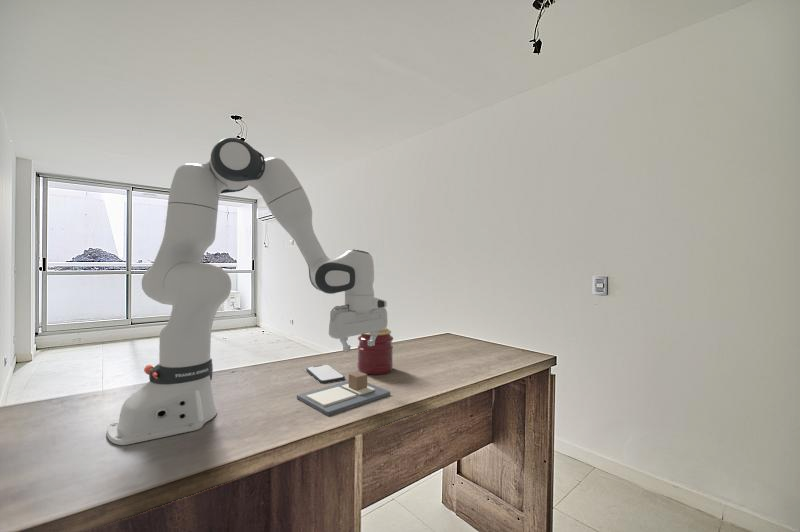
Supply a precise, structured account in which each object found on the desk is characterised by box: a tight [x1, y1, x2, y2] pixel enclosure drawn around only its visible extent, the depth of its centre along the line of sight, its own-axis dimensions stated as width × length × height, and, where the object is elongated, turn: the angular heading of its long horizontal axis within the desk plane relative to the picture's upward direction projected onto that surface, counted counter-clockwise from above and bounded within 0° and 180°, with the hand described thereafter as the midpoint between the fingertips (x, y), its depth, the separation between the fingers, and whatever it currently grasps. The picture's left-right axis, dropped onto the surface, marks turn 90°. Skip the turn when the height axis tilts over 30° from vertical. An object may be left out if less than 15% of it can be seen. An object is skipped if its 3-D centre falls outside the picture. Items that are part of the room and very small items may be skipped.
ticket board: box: [296, 380, 391, 417], centre depth 109 cm, size 22×16×2 cm
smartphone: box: [305, 364, 346, 384], centre depth 129 cm, size 9×2×16 cm
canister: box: [357, 327, 394, 376], centre depth 136 cm, size 13×13×18 cm
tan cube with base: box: [341, 371, 375, 395], centre depth 112 cm, size 6×9×4 cm, turn 45°
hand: (359, 348), depth 113 cm, fingers open, 8 cm apart
